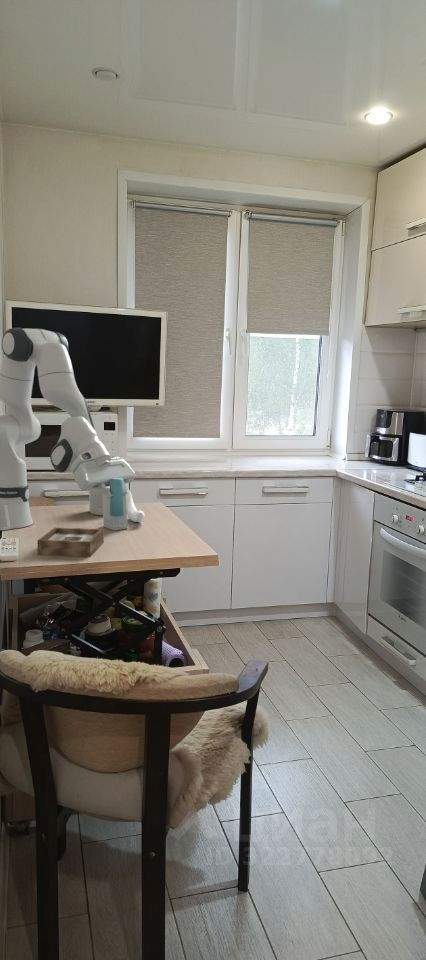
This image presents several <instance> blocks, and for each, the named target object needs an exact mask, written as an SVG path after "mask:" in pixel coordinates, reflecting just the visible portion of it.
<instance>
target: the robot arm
mask: <svg viewBox="0 0 426 960" xmlns="http://www.w3.org/2000/svg"><path fill="white" fill-rule="evenodd" d="M1 338H2V339H1V349H2V352H3V353H4V354H3V357H2V361H1V364H0V402H2V403H3V404H4V405H5V414H0V531H7V530H11V529H12V530H13V529H20V528H25V527H29V526H31V525H33V524H34V521H33V518H32V517H33V516H32V515H31V510H30V503H29V500H30V490H29V484H28V477H27V476H28V475H27V463H26V461H25V460H24V459H22V458H21V457H19V456H18V454H17V452H16V449H15V446H20V445H27V444H30V443H32V442H35V441H37V440H38V439H39V437H41V433H42V432H41V431H42V427H41V422H40V421H39V419H38V418H37V417H36V415H35V414H34V411H33V409H32V393H33V385H34V377H35V370H37V377H38V385H39V389H40V393H41V395H42V397H43V398H44V400H46V401H47V402H48V403H49V404H50V405H53V406H54V407H56V408H59V409H60V410H62V411H64V412H65V413H67V414H68V415H69V416H70V417H69V418H67V419H65V420H64V421H63V422H62V423H61V426H60V429H61V430H60V436H59V439H58V440H57V443H56V444H55V445H54V446H53V447H52V449H51V451H50V455H49V457H50V463H51V466H52V467H53V469H54V470H55V471H56V472H58V473H60V474H68V473H69V474H71V473H72V476H73V479H74V481H75V483H76V485H77V486H78V488H79V489H80V490H82V491H89V490H90V489H97V488H98V490H99V491H100V492H102V493H103V494H105V495H106V497H107V498H108V499H109V498H112V497H113V496H114V494H113V492H112V490H111V491H109V490H108V489H107V488H106V487H109V486H110V478H123V496H125V495H126V494H127V490H126V489H125V484H131V483H132V482H133V481H134V479H136V472H135V471H134V469H133V468H132V467H131V465H130V464H129V463H128V462H127V461H126V460H125V459H123V458H121V457H119V456H116V457H112V455H111V454H110V452H109V451H108V449H107V448H106V446H105V444H104V443H103V441H101V440H100V438H99V436H98V433H97V431H96V428H95V425H94V422H93V419H92V414H91V411H90V408H89V405H88V403H87V400H86V398H85V397H84V395H83V394H82V393H81V392H80V389H79V388H78V385H77V382H76V379H75V378H76V377H75V373H74V369H73V364H72V360H71V358H70V355H69V354H70V353H69V342H68V339H67V338H66V336H65V335H64V334H63V333H60V332H57V331H54V330H52V331H51V330H46V329H43V328H22V327H12V328H9V329H7V330H6V331H5V332H4V333H3V335H2V337H1ZM36 368H37V369H36Z"/></svg>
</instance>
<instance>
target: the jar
mask: <svg viewBox="0 0 426 960" xmlns="http://www.w3.org/2000/svg"><path fill="white" fill-rule="evenodd" d="M88 498H89V501H88V502H89V503H88V509H89V513H90V514H92V515H95V516H103V502H102V492H100V491H99V490H98V488H97V489H90V490H88Z"/></svg>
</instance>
